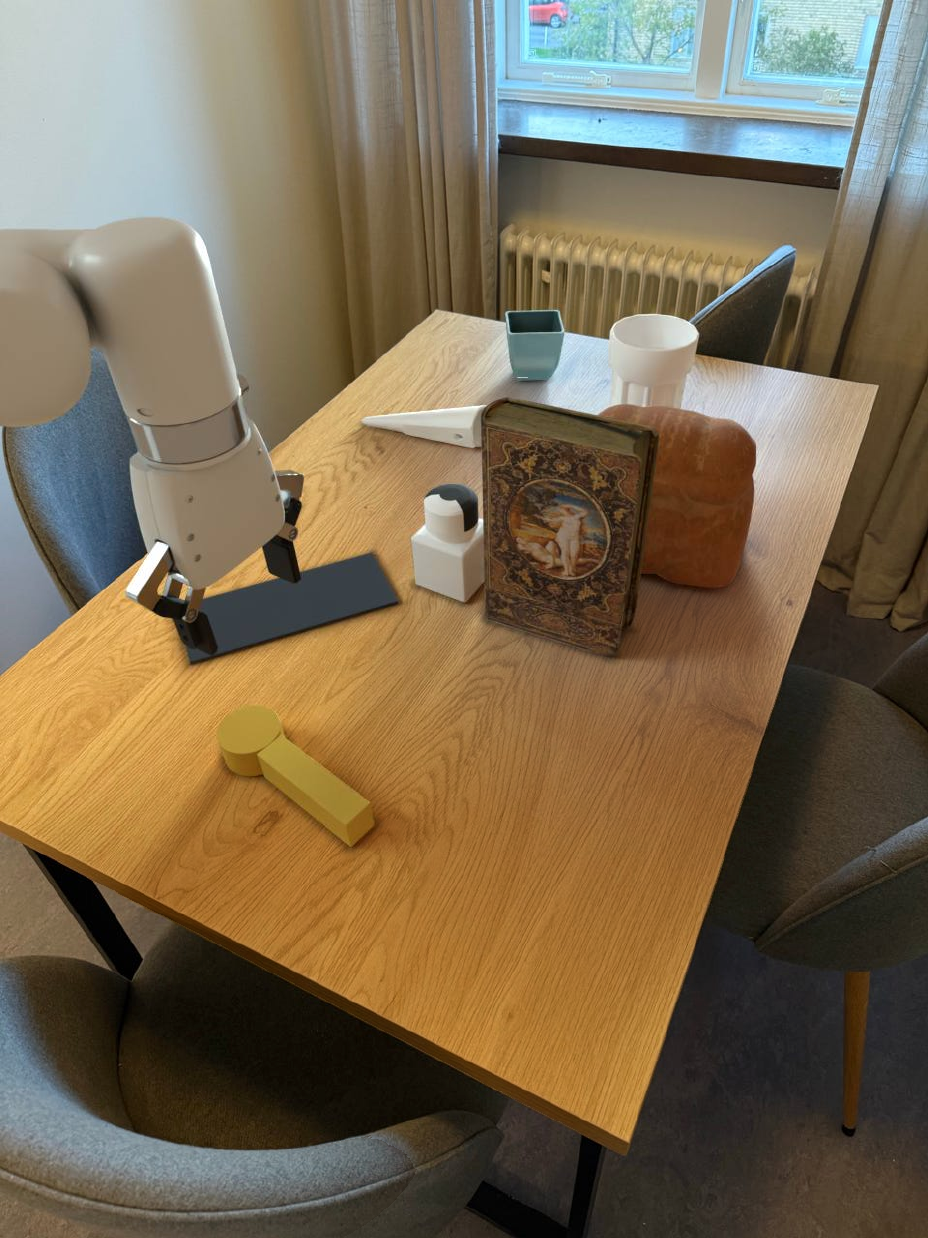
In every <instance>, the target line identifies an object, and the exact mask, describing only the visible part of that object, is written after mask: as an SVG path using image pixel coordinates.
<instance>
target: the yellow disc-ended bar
mask: <svg viewBox="0 0 928 1238" xmlns="http://www.w3.org/2000/svg"><path fill="white" fill-rule="evenodd" d="M216 739H217V743H218V745H219V748H220V750H221V753H222V756H223V758H224V761H225V764H226V766H227V767H228V768H229V770H230V771H231V772H233V773H235V774H236V775H239V776H243V777H258V776H261V775H263V777H264V778H265V779H266V780H267V781H268V782H270V783H271V785H273V786H275V787H276V788H277V789H278V790H279V791H280V792H282V793H283V794H284V795H286V796H287V797H288V798H289V799H290V800H291V801H293V802H294V803H295V804H297V805H298V806H299V807H300V808H302V810H303V811H305V812H307V813H308V814H309V815H310V816H312V817H313V818H314V819H315V820H316V821H317V822H318V823H320V824H321V825H323V826H324V827H325V828H326V829H327V830H328V831H330V832H331V833H332V834H333V835H335V836H336V837H337V838H338V839H340V840H341V841H342V842H343V843H345V845H347V846H348V847H350V848H352V847H353V846H354V845H356V843H357V842H359V841H360V839H362V838H363V837H364V836H365V835H366V834H367V833H368V832H369V831H370V830H371V829H372V828H373V827H374V826H375V825H376V824H375V818H374V815H373V814H374V813H373V809H372V804H371V802H370V801H369V800H368V799H366V797H363V796H362V795H361V794H360V793H358V792H357V791H356V790H355V789H353V788H352V787H351V786H349V785H348V784H347V783H345V782H344V781H343V780H341V778H339V777H338V776H336V775H335V774H333V773H332V772H331V771H330V770H328V769H327V768H325V766H323V765H322V764H321V763H319V762H318V761H317V760H316V759H314V758H312V757H311V756H310V755H308V754H307V753H306V752H304V751H303V750H302V749H300V748H299V747H298V746H296V745H295V744H294V743H292V741H290V740H289V739H287V738H286V736H285V732H284V730H283V726H282V722H281V719H280V716H279V714H278V713H277V712H276V711H275V710H274V709H272V708H271V707H268V706H266V705H261V704H251V705H245V706H241V707H238V708H236V709H234V710H233V711H231V712H229V713H228V714H227V715H226V716H225V717H224V718H223V719H222V720H221V722H220V723H219V725H218V727H217V730H216Z"/></svg>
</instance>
